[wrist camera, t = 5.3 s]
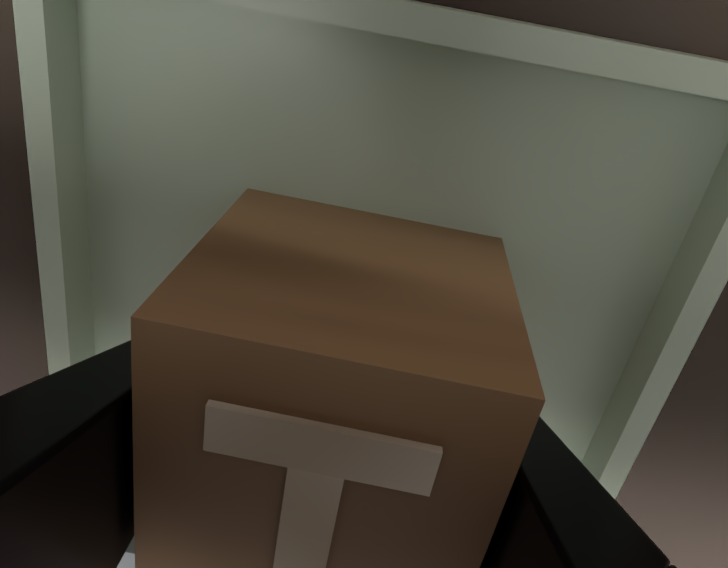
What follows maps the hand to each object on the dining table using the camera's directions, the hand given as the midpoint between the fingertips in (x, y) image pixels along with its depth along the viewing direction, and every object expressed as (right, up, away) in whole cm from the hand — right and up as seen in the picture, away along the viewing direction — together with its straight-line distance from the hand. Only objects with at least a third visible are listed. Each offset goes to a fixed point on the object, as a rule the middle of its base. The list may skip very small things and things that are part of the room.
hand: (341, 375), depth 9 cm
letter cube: (0, +1, +1) cm, 2 cm away
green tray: (0, +1, +2) cm, 2 cm away
